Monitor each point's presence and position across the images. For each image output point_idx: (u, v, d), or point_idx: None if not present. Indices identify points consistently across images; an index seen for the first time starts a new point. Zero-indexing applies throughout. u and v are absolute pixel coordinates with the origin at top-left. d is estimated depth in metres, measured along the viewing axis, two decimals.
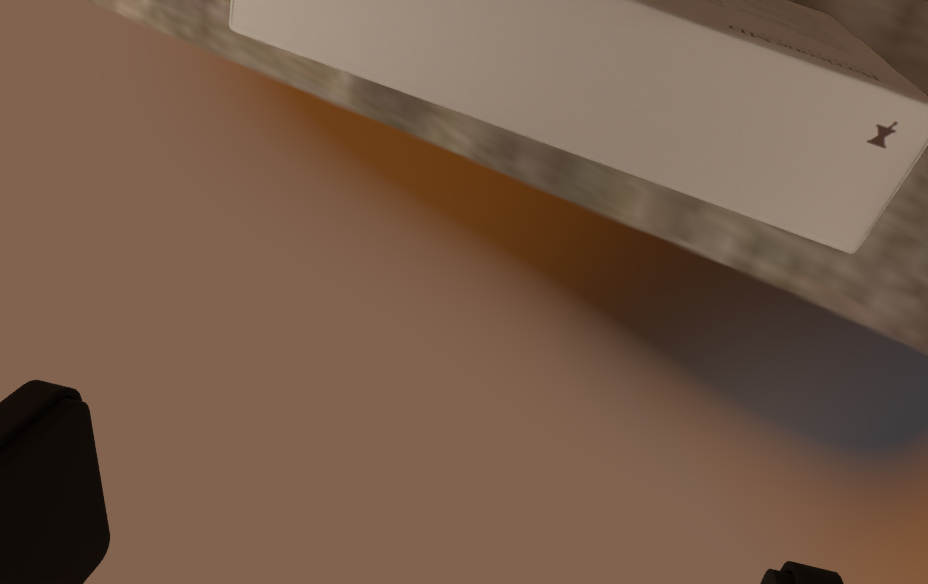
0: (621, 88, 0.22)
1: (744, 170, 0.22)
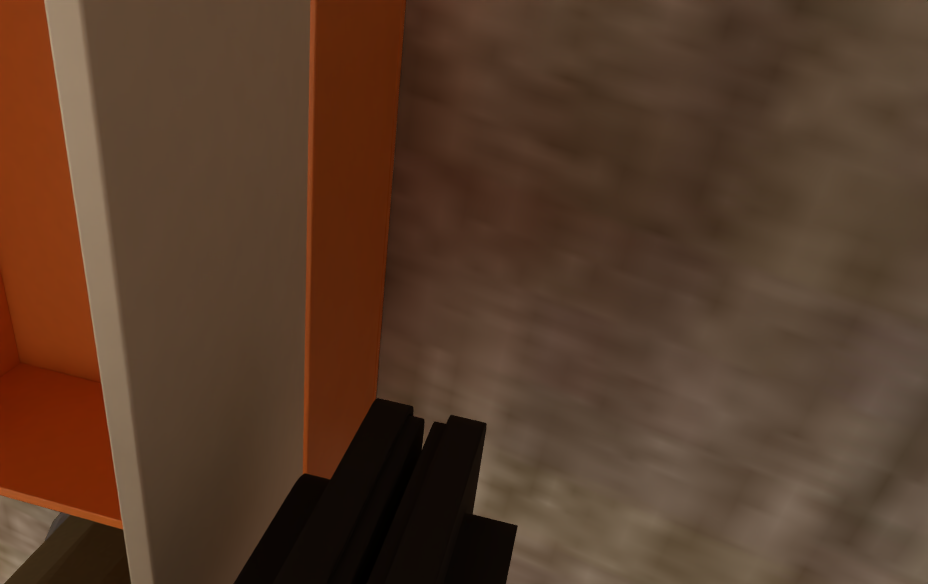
0: None
1: None
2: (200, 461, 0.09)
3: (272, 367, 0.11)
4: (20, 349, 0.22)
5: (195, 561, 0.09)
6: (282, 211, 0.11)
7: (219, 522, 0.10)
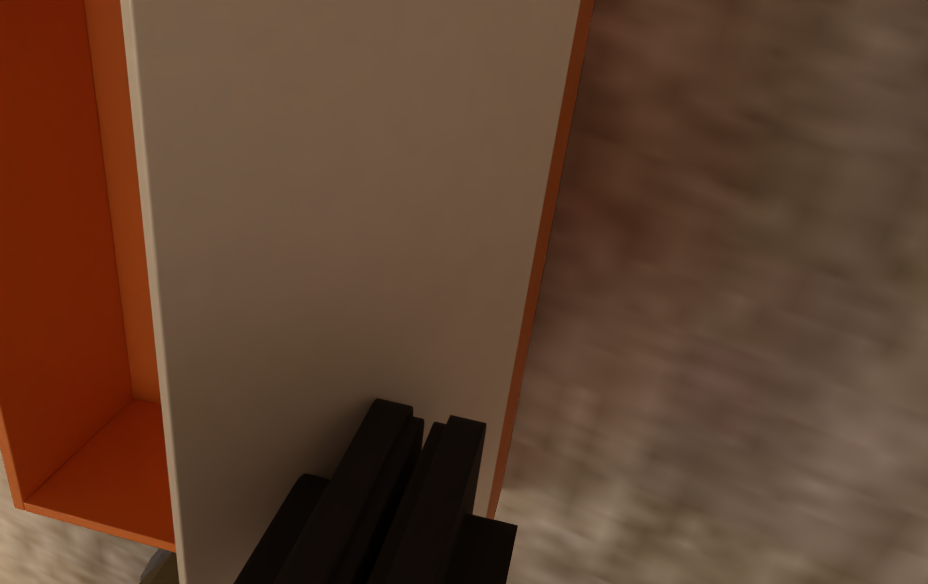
0: None
1: None
2: (274, 442, 0.10)
3: (430, 402, 0.11)
4: (134, 385, 0.22)
5: (249, 529, 0.10)
6: (474, 255, 0.10)
7: None
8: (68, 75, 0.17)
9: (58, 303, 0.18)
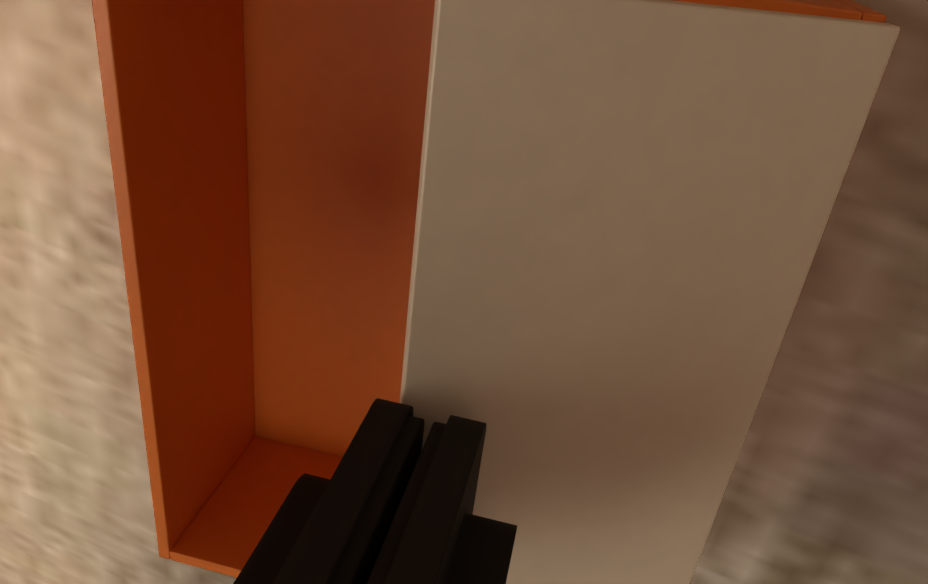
0: None
1: None
2: (488, 413, 0.11)
3: (647, 430, 0.12)
4: (258, 422, 0.21)
5: None
6: (719, 295, 0.10)
7: (503, 488, 0.12)
8: (228, 113, 0.16)
9: (207, 345, 0.17)
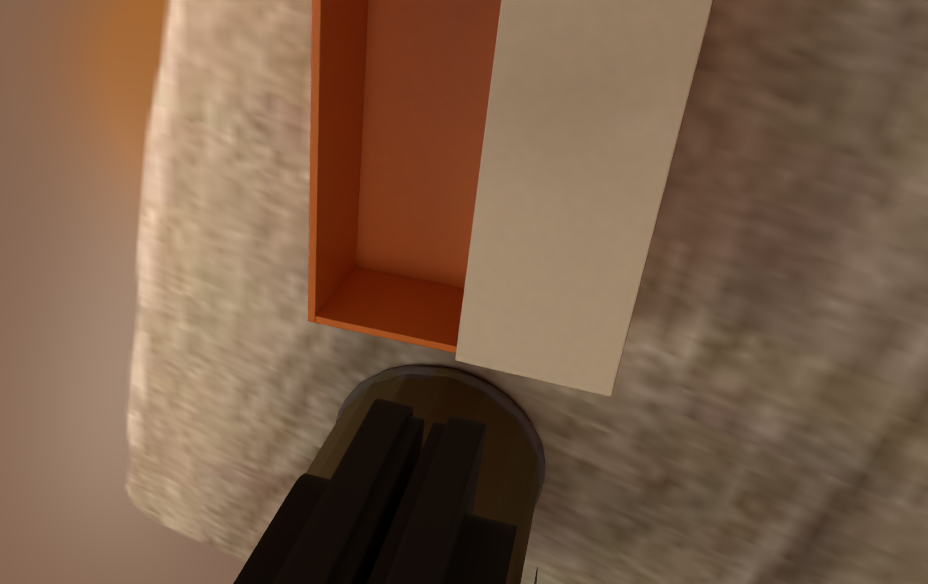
0: None
1: None
2: (523, 148, 0.22)
3: (606, 175, 0.22)
4: (359, 256, 0.31)
5: (505, 188, 0.23)
6: (640, 98, 0.21)
7: (530, 197, 0.23)
8: (359, 33, 0.26)
9: (340, 183, 0.27)
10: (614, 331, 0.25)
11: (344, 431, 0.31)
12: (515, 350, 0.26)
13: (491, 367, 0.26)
